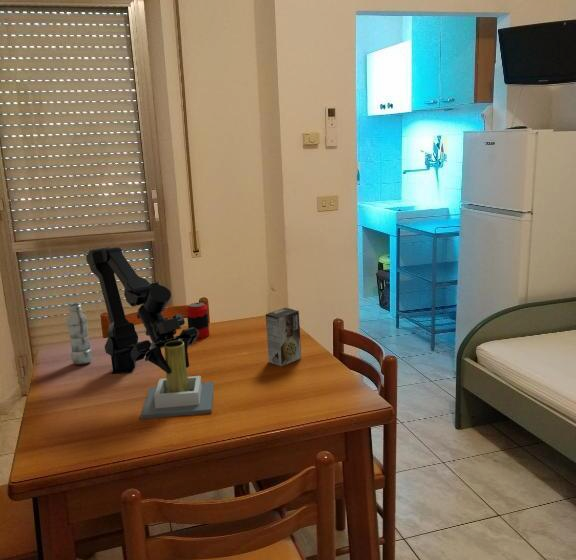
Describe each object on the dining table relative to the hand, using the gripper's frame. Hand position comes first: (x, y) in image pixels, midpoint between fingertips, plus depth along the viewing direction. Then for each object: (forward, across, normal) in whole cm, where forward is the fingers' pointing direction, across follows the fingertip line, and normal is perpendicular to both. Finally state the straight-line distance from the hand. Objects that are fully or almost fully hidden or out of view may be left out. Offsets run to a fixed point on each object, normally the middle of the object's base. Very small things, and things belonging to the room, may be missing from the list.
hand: (179, 370), depth 148 cm
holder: (+6, 0, +7) cm, 9 cm away
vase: (+4, 0, +6) cm, 7 cm away
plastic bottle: (-29, -6, +43) cm, 52 cm away
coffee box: (+6, +39, +8) cm, 40 cm away
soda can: (-24, +35, +39) cm, 58 cm away
